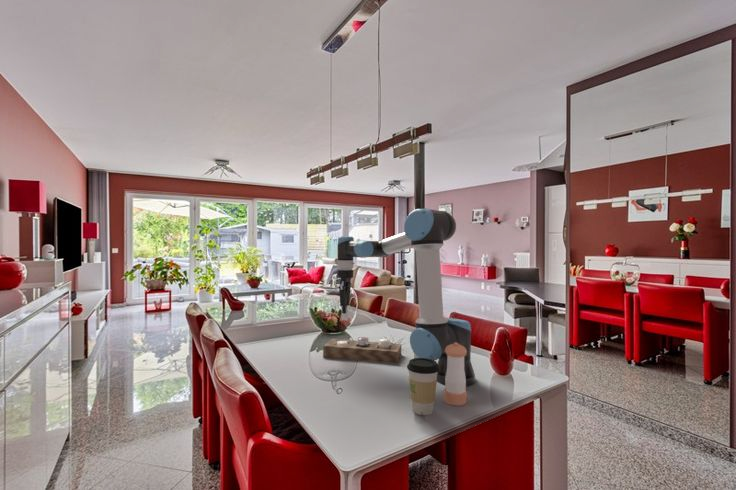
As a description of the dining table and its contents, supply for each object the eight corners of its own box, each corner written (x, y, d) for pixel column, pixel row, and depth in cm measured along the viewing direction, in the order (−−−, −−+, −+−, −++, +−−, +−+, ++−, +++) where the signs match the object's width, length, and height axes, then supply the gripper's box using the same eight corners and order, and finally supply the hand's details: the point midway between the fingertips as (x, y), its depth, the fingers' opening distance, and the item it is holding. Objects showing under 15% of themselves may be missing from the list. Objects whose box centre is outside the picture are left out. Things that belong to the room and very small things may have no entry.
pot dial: (369, 348, 167) (369, 336, 167) (366, 351, 163) (367, 339, 163) (359, 347, 168) (359, 335, 169) (356, 350, 164) (356, 338, 164)
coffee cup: (417, 400, 118) (417, 355, 118) (444, 409, 111) (444, 361, 112) (400, 411, 110) (400, 362, 110) (428, 421, 104) (429, 369, 104)
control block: (401, 354, 168) (401, 344, 168) (397, 363, 155) (397, 351, 155) (332, 349, 176) (332, 338, 176) (323, 356, 163) (323, 345, 163)
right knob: (390, 349, 165) (390, 339, 165) (388, 353, 160) (388, 341, 160) (379, 349, 166) (380, 338, 166) (377, 352, 161) (377, 341, 161)
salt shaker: (467, 406, 114) (468, 346, 114) (443, 404, 115) (444, 344, 116) (465, 397, 121) (466, 340, 121) (443, 395, 123) (444, 339, 123)
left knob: (348, 351, 170) (348, 341, 170) (345, 355, 165) (345, 344, 165) (338, 351, 171) (338, 340, 171) (335, 354, 166) (335, 343, 166)
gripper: (349, 270, 160) (348, 323, 160) (356, 268, 173) (356, 317, 173) (333, 270, 162) (332, 322, 162) (341, 268, 175) (341, 316, 175)
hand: (344, 319), depth 167 cm, fingers closed
